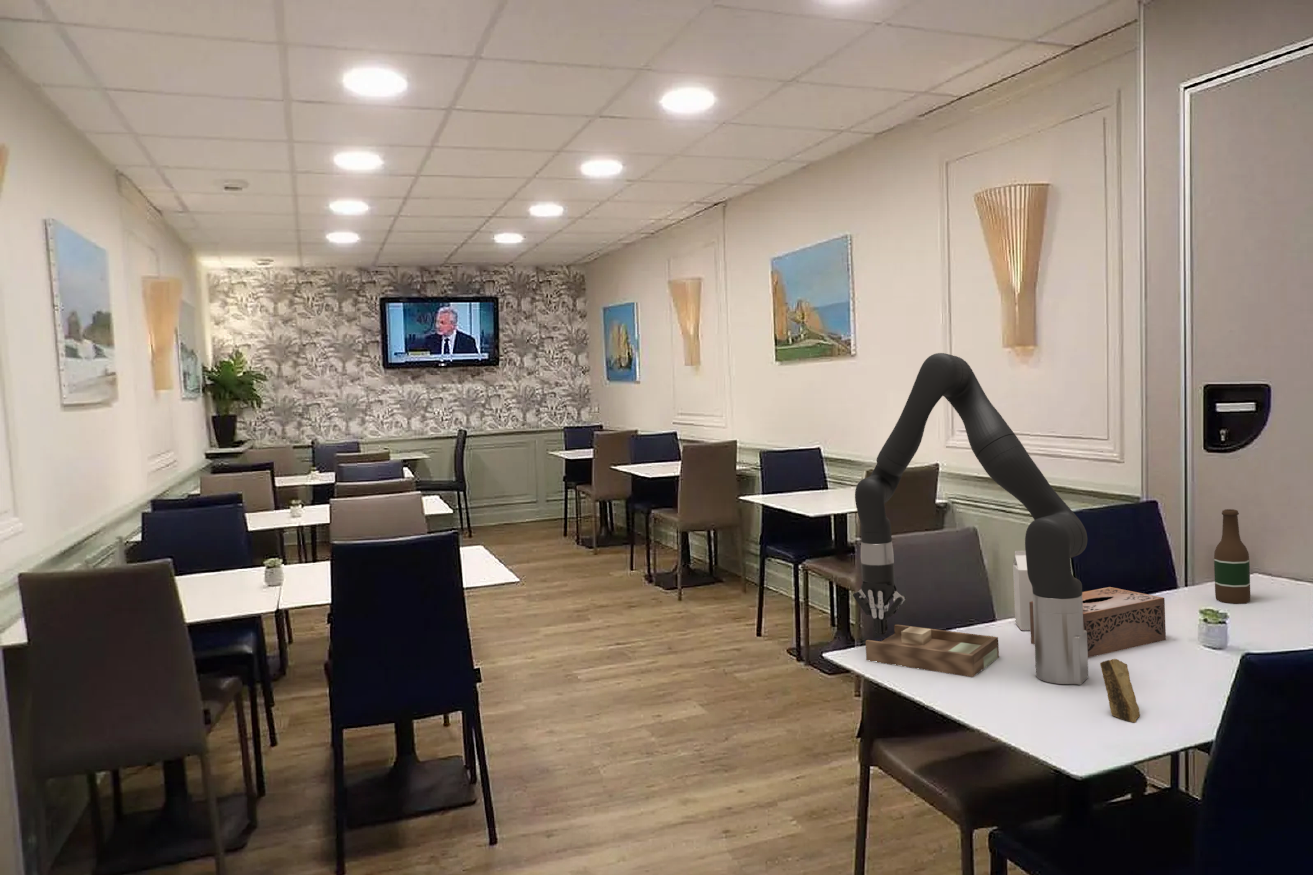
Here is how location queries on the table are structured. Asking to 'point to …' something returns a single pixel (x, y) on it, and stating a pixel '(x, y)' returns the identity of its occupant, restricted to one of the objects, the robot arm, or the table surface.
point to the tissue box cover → (1119, 620)
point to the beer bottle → (1231, 563)
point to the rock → (1120, 690)
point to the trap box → (937, 652)
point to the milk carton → (1022, 591)
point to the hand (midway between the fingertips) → (880, 633)
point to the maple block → (916, 635)
